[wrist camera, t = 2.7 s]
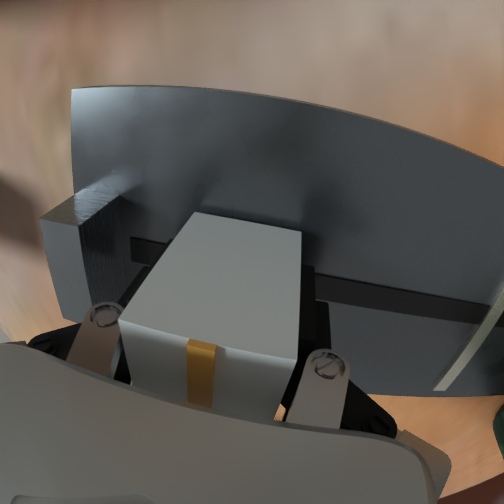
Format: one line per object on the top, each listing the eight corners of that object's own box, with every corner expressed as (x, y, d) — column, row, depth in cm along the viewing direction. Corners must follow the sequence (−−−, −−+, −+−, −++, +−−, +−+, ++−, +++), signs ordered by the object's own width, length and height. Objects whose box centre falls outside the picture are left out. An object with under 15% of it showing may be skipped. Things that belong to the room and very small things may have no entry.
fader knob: (194, 211, 12) (114, 324, 6) (301, 231, 11) (296, 367, 6) (190, 311, 14) (141, 426, 9) (276, 329, 14) (259, 455, 9)
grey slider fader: (91, 86, 11) (20, 99, 7) (601, 225, 10) (639, 261, 6) (110, 321, 18) (77, 372, 15) (508, 379, 17) (525, 423, 13)
